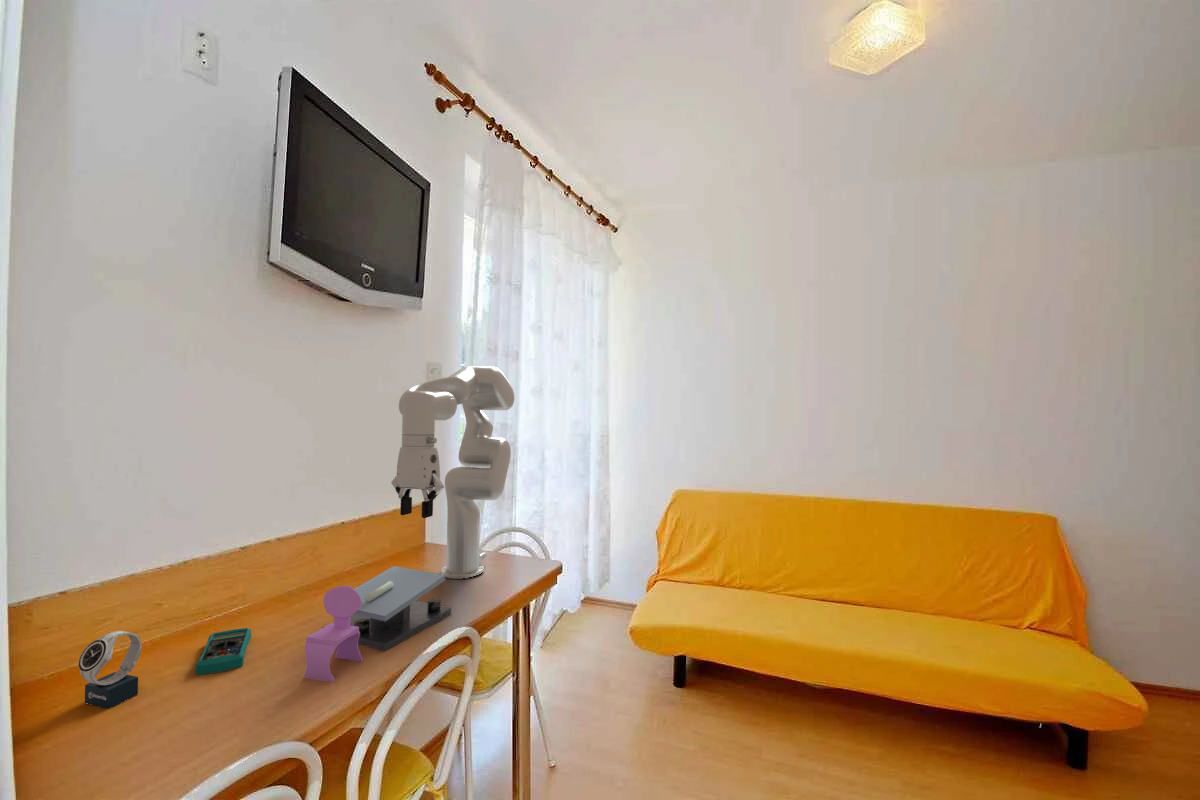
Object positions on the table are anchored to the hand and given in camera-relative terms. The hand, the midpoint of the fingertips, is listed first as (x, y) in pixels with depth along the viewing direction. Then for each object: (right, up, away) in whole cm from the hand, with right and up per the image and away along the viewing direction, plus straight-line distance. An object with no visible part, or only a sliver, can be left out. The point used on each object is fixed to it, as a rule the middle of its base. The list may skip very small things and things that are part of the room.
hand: (416, 514), depth 129 cm
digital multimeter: (-30, -24, -23) cm, 45 cm away
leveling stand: (-4, -23, -7) cm, 25 cm away
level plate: (-3, -16, -7) cm, 18 cm away
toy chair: (-6, -24, -28) cm, 37 cm away
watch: (-38, -23, -40) cm, 59 cm away
